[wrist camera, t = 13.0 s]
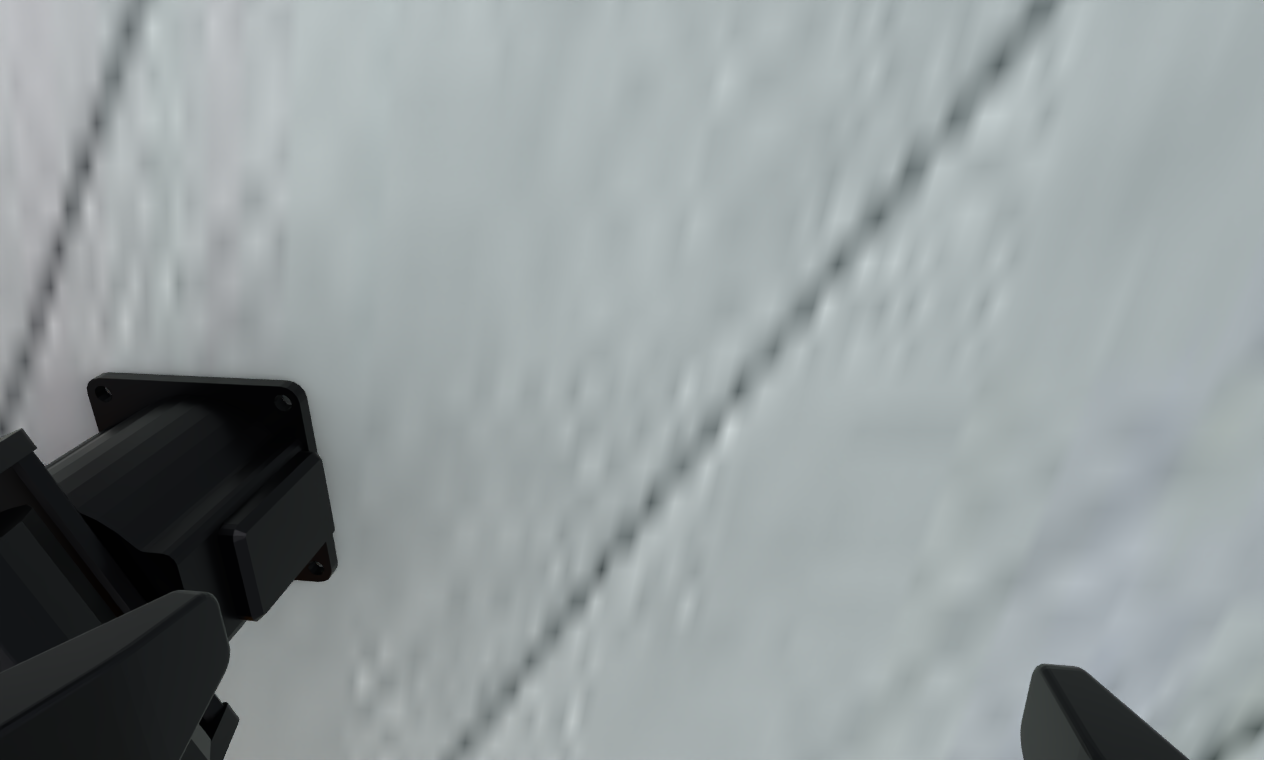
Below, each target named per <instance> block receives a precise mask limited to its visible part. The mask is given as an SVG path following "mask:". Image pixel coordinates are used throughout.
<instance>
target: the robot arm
mask: <svg viewBox="0 0 1264 760" xmlns="http://www.w3.org/2000/svg"><path fill="white" fill-rule="evenodd" d="M105 387H106V388H107V389H108V390H109V391H110V392H111V394H112V395H110V394H109V393H108V392H107V391H106V389H105ZM87 392H88V396H89V400H90V403H91V406H92V410H93V413H94V416H95V420H96V423H97V426H98V430H99V433H98V434H96V435H94V436H93V437H91V438H90V439H88V440H86V441H85V442H83V443H82V444H80V445H79V446H77V447H75V448H74V449H72V450H71V451H69V452H67V453H66V454H64V455H63V456H61V457H59V458H58V459H56V460H55V461H53V462H52V463H50V464H48V465H47V466H44V465H43V464H42V462H41V461H40V460H39V458H38V457H37V456H36V454H35V453H34V452H33V451H34V450H36V449H37V447H36V446H35V445H34V443H33V442H32V441H31V439H30V438H29V437H28V435H27V434H26V433H25V431H24V430H23V429H22V428H21V429H19V430H16V431H14V432H12V433H10V434H7V435H5V436H3V437H1V438H0V760H223V759H224V756H225V754H226V751H227V749H228V747H229V744H230V742H231V739H232V737H233V735H234V732H235V730H236V727H237V725H238V722H239V717H238V716H237V715H236V713H235V712H234V711H233V709H232V708H231V707H230V705H229V704H228V703H227V702H223V703H222V702H221V701H220V699H219V698H218V697H217V695H216V694H215V691H216V689H217V687H218V685H219V683H220V681H221V679H222V678H223V676H224V674H225V671H226V669H227V666H228V663H229V658H230V646H229V641H230V640H231V639H232V637H233V636H234V635H235V634H236V633H237V632H238V630H239V629H240V628H241V627H242V626H243V624H244V623H245V622H246V621H258V620H259V619H261V618H262V617H263V616H264V615H265V614H266V613H267V612H268V610H269V609H270V608H271V607H272V606H273V604H274V603H275V602H276V601H277V600H278V598H279V597H280V596H281V595H282V594H283V592H284V591H285V590H286V589H287V588H288V586H289V585H290V584H291V583H292V582H293V580H302V581H315V582H322V581H326V580H328V579H329V578H330V577H331V575H332V574H333V573H334V571H335V570H336V568H337V566H338V561H337V555H336V550H335V545H334V539H333V533H334V530H335V527H334V522H333V517H332V511H331V506H330V500H329V495H328V490H327V484H326V479H325V473H324V468H323V463H322V459H321V458H320V456H319V455H318V453H317V448H316V443H315V438H314V432H313V427H312V422H311V416H310V411H309V406H308V400H307V396H306V394H305V391H304V390H303V389H302V388H301V387H300V386H299V385H298V384H296V383H294V382H291V381H285V380H263V379H241V378H219V377H197V376H175V375H153V374H131V373H103V374H101V375H99V376H97V377H96V378H94V379H92V380H91V381H90V382H89V383H88V386H87ZM282 395H285V396H287V397H288V398H289V399H290V401H291V403H292V405H289V404H287V403H286V402H285V401H284V400H283V398H282ZM315 561H316V562H319V563H320V564H321V565H322V566H323V567H321V566H319V565H317V564H316V562H315ZM1020 733H1021V748H1022V753H1023V758H1024V760H1189V759H1188V758H1187V757H1186V756H1185V755H1183V754H1182V753H1181V752H1180V751H1179V750H1178V749H1176V748H1175V747H1174V746H1173V745H1172V744H1171V743H1169V742H1168V741H1167V740H1166V739H1165V738H1164V737H1162V736H1161V735H1160V734H1159V733H1158V732H1157V731H1155V730H1154V729H1153V728H1152V727H1151V726H1150V725H1148V724H1147V723H1146V722H1145V721H1144V720H1143V719H1141V718H1140V717H1139V716H1138V715H1137V714H1135V713H1134V712H1133V711H1132V710H1131V709H1130V708H1128V707H1127V706H1126V705H1125V704H1124V703H1123V702H1121V701H1120V700H1119V699H1118V698H1117V697H1116V696H1114V695H1113V694H1112V693H1111V692H1110V691H1109V690H1107V689H1106V688H1105V687H1104V686H1103V685H1102V684H1100V683H1099V682H1098V681H1097V680H1096V679H1095V678H1093V677H1092V676H1091V675H1090V674H1089V673H1087V672H1086V671H1085V670H1083V669H1081V668H1079V667H1075V666H1066V665H1054V664H1041V665H1039V666H1037V667H1036V668H1035V670H1034V671H1033V674H1032V677H1031V682H1030V686H1029V691H1028V695H1027V700H1026V704H1025V709H1024V713H1023V718H1022V723H1021V732H1020Z"/></svg>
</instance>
